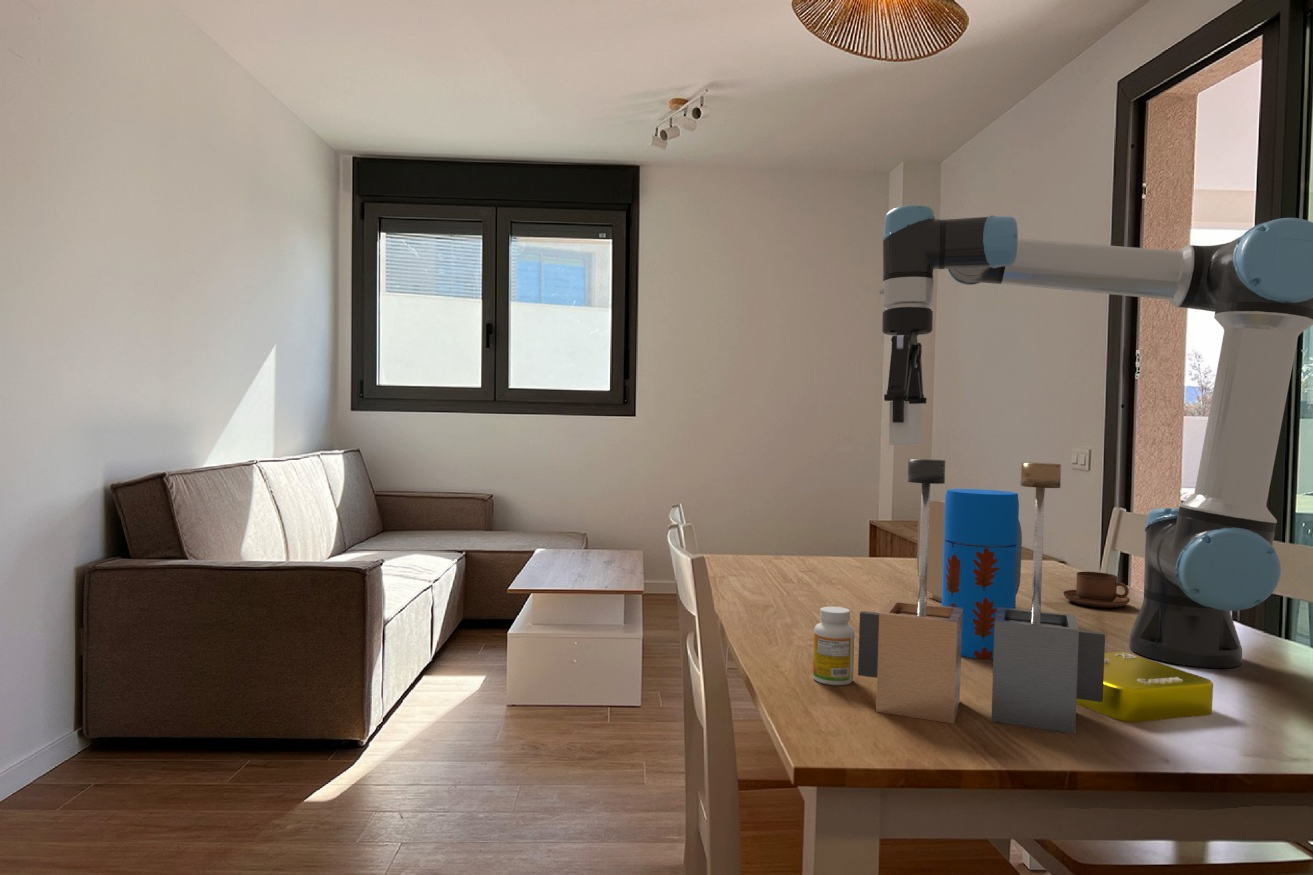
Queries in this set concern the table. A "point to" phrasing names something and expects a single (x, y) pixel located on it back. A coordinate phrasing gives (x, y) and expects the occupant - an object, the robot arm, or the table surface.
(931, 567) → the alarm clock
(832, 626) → the supplement bottle
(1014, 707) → the grey box
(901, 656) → the light wood box
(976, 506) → the thermos
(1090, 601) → the cup and saucer
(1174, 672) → the element tile
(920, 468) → the grey capped rod
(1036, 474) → the tan and silver rod
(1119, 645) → the table surface
